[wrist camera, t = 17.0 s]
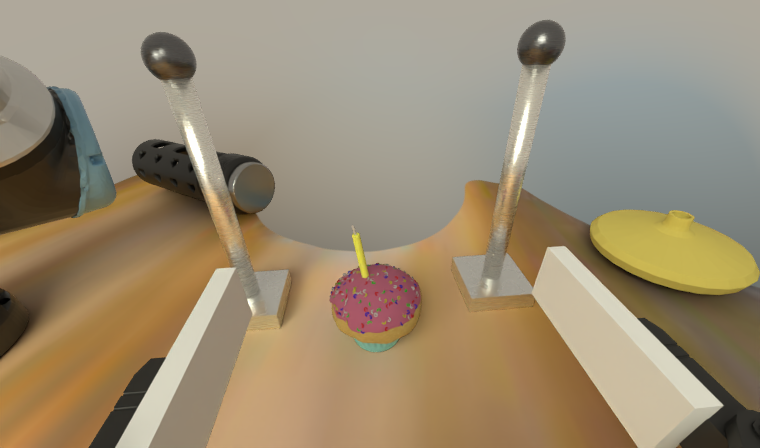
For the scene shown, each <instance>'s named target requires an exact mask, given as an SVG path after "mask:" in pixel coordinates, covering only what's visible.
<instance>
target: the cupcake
mask: <svg viewBox="0 0 760 448" xmlns="http://www.w3.org/2000/svg"><path fill="white" fill-rule="evenodd" d="M352 229H353V232H354V234H353V235H352V237H353V242H354V246H355V250H356V254H357V258H358V263H359V267H358V268H357V269H354V270H352V271H348V273H347V274H346V273H344V274H343V276H344V277H342V278H339V280H338V281H337V283H336V284H335V287H332V288H333V289H332V291H331V295H330V302H331V303H332V314H333V318H334V320H335V322H336V324H337V326H338V328H339V329H340V330H341V331H342V332H344V333H345V334H347V335H349V336H351V337H353V338H354V340H355V341H356V343H357V344H358V345H359V346H360V347H361V348H363V349H365V350H367V351H371V352H382V351H385V350H388V349H390V348H391V347H393V346H394V345H395V344H396V343H397V341H398V340H399V338H401V337H403V336H405V335H407V334H409V333H410V332H411V331H412V330H413V328H414V327H415V325H416V323H417V321H418V319H419V316H420V311H421V304H422V295H421V291H420V288H419V285H418V283H417V282H416V281H415V280H414V279H413V277H412V278H411V277H410V275H409V274H406V273H405V272H403V271H401V270H400V269H399V268H398V269H397V268H395V267H392V266H389V265H388V264H386V265H385V264H379V263H376V264H374V265H367V264H366V260H365V256H364V251H363V247H362V243H361V238H360V234H359V233H356V231H355V227H354V226H353V225H352Z"/></svg>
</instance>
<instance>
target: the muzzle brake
mask: <svg viewBox="0 0 760 448" xmlns="http://www.w3.org/2000/svg"><path fill="white" fill-rule="evenodd" d="M163 146H165V147H163ZM158 147H163V148H158ZM216 154H217V157H218V160H219V163H220V166H221V169H222V172H223V175H224V178H225V182H226V185H227V188H228V191H229V194H230V197H231V200H232V203H233V206H234V210H235V213H236V214H248V213H257V212H260V211H262V210H263V209H265V208H266V207H267V206H268V204H269V203H270V202H271V200H272V198H273V194H274V189H275V183H274V178H273V175H272V173H271V172H270V170H269V169H268V168H267V167H266V166H265V165H263V164H262V163H261V162H260V161H258V160H257V159H255V158H253V157H249V156H244V155H239V154H225V153H220V152H216ZM177 162H178V163H177ZM132 163H133V168H134V170H135V172H136V174H137V175H138V176H139V177H140V178H141V179H142V180H144V181H146V182H148V183H150V184H153V185H157V186H159V187H162V188H165V189H168V190H172V191H175V192H177V193H180V194H183V195H187V196H190V197H193V198H196V199H199V200H202V201H205V198H204V195H203V193H202V190H201V187H200V184H199V182H198V179H197V176H196V174H195V171H194V168H193V166H192V163H191V160H190V158H189V155H188V152H187V150H186V147H185V145H183V144H178V143H173V142H168V141H163V140H156V139H154V140H148V141H146V142H143V143H142V144H140V145H139V146H138V147H137V148H136V150H135V152H134V154H133V157H132ZM205 202H206V201H205Z"/></svg>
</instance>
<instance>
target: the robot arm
mask: <svg viewBox="0 0 760 448" xmlns="http://www.w3.org/2000/svg"><path fill="white" fill-rule="evenodd" d="M115 198H116V189H115V186H114V183H113V180H112V178H111V175H110V172H109V170H108V167H107V165H106V162H105V160H104V158H103V156H102V152H101V150H100V147H99V144H98V141H97V139H96V136H95V133H94V131H93V128H92V126H91V124H90V121H89V119H88V116H87V114H86V111H85V109H84V107H83V104H82V102H81V100H80V98H79V96H78V95H77V94H76V92H74V91H72V90H70V89H63V88H58V87H46V86H45V85H44V84H43V83H42V82H41V81H40V79H39V78H38V77H37V76H36V75H34V74H33V73H32V72H31V71H29V70H28V69H27V68H25V67H23V66H21V65H20V64H18V63H16V62H14V61H12V60H10V59H8V58H6V57H3V56H1V55H0V235H2V234H6V233H10V232H14V231H18V230H22V229H25V228H29V227H33V226H37V225H41V224H45V223H49V222H53V221H57V220H61V219H65V218H69V217H71V218H77V217H80V216H82V215H83V214H84V213H87V212H91V211H94V210H97V209H101V208H104V207H107V206H109V205H110V204H112V203H113V201H114V200H115ZM532 295H533V296H534V298H535V299H536V301H537V302H538V303H539V305H540V306H541V308H542V309H543V311H544V312H545V314H546V315H547V316H548V318H549V319H550V321H551V322H552V324H553V325H554V327H555V328H556V329H557V331H558V332H559V334H560V335H561V337H562V338H563V340H564V341H565V342H566V344H567V345H568V347H569V348H570V350H571V351H572V353H573V354H574V355H575V357H576V358H577V360H578V361H579V363H580V364H581V366H582V367H583V369H584V370H585V371H586V373H587V374H588V376H589V377H590V379H591V380H592V382H593V383H594V384H595V386H596V387H597V389H598V390H599V392H600V393H601V395H602V396H603V397H604V399H605V400H606V402H607V403H608V405H609V406H610V408H611V409H612V410H613V412H614V413H615V415H616V416H617V418H618V419H619V421H620V422H621V423H622V425H623V426H624V428H625V429H626V431H627V432H628V434H629V435H630V436H631V438H632V439H633V441H634V442H635V444H636V445H637V447H638V448H676V447H677V446H678V445H679V444H680V445H681V447H682V448H760V412H757V411H754V410H747V409H746V408H745V407H744V406H742V405H741V404H740V403H739V402H738V401H737V400H736V399H735V398H734V397H732V396H731V395H730V394H729V393H728V392H727V391H726V390H725V389H724V388H723V387H722V386H721V385H720V384H719V383H718V382H717V381H716V380H715V379H714V378H713V377H712V376H711V375H709V374H708V373H707V372H706V371H705V370H704V369H703V368H702V367H701V366H700V365H699V364H698V363H697V362H696V361H695V360H694V359H693V358H690V357H689V354H687V353H686V352H685V351H684V350H683V349H682V348H681V347H680V346H677V343H676V342H675V341H674V340H673V339H672V338H671V337H670V336H669V335H668V334H667V333H666V332H664V331H663V330H662V329H661V328H659V327H658V326H656V325H655V324H653V323H651V322H650V321H648V320H647V319H645V318H636V317H635V316H634V315H633V314H632V313H631V312H630V311H629V310H628V309H627V308H626V307H625V306H624V305H623V304H622V303H621V302H620V301H619V300H618V299H617V298H616V297H615V296H614V295H613V294H612V293H611V292H610V291H609V290H608V289H607V288H606V287H605V286H604V285H603V284H602V283H601V282H600V281H599V280H598V279H597V278H596V277H595V276H594V275H593V274H592V273H591V272H590V271H589V270H588V269H587V268H586V267H585V266H584V265H583V264H582V263H581V262H580V261H579V260H578V259H577V258H576V257H575V256H574V255H573V254H572V253H571V252H570V251H569V250H568V249H567V248H566V247H565V246H560V247H548V248H547V251H546V253H545V256H544V259H543V262H542V265H541V268H540V270H539V273H538V276H537V279H536V282H535V285H534V288H533V290H532ZM251 316H252V311H251V309H250V306H249V303H248V300H247V297H246V295H245V292H244V289H243V286H242V283H241V281H240V278H239V275H238V272H237V269H236V268H220V269H216V270H215V272H214V274H213V276H212V277H211V279H210V281H209V283H208V284H207V286H206V288H205V290H204V292H203V293H202V295H201V297H200V299H199V300H198V302H197V304H196V306H195V307H194V309H193V311H192V313H191V315H190V316H189V318H188V320H187V322H186V323H185V325H184V327H183V329H182V330H181V332H180V334H179V336H178V338H177V339H176V341H175V343H174V345H173V346H172V348H171V350H170V352H169V353H168V355H167V357H165V358H153V359H150V360H149V361H148V362H147V363H146V364H145V365H144V366H143V367H142V368H141V369H140V370H139V371H138V372H137V373H136V374H135V375H134V376H133V378H132V380H131V381H130V383H129V384H128V386H127V387H126V389H125V391H124V392H123V393H124V394H123V396H121V397H120V399H119V400H118V402H117V403H116V405H115V407H114V410H113V411H111V413H110V414H109V416H108V418H107V419H106V421H105V422H104V424H103V426H102V427H101V429H100V430H99V432H98V434H97V435H96V437H95V438H94V440H93V442H92V443H91V445H90V446H89V448H206V446H207V443H208V440H209V437H210V434H211V432H212V429H213V426H214V423H215V420H216V417H217V414H218V411H219V409H220V406H221V403H222V400H223V397H224V394H225V391H226V388H227V386H228V383H229V380H230V377H231V374H232V371H233V368H234V365H235V363H236V360H237V357H238V354H239V351H240V348H241V345H242V342H243V339H244V337H245V334H246V331H247V328H248V325H249V322H250V319H251ZM28 319H29V314H28V311H27V309H26V308H25V307H24V306H23V305H22V304H21V303H20V302H19V301H18V299H17V298H16V297H15V296H13V295H12V294H11V293H9V292H7V291H5V290H3V289H1V288H0V356H1V355H3V354H4V353H5V352H6V351H7V350H8V349H9V348H10V347H11V346H12V345H13V344H14V343H15V341H16V340H17V339H18V338H19V337H20V335H21V334H22V333H23V331H24V329H25V328H26V325H27V323H28Z"/></svg>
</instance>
